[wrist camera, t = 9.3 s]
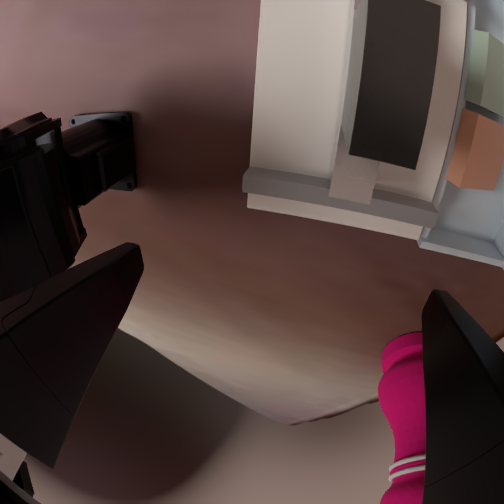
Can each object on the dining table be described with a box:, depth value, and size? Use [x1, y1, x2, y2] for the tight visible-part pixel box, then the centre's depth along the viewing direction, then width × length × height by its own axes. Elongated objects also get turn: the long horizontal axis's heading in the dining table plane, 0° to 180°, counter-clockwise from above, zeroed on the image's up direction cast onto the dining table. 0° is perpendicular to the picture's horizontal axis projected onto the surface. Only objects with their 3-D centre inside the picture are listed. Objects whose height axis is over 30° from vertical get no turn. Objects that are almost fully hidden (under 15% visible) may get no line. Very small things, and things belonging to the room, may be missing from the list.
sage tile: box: [464, 30, 504, 118], centre depth 11 cm, size 4×4×1 cm
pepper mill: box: [378, 332, 426, 504], centre depth 19 cm, size 7×7×20 cm
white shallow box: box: [242, 0, 471, 240], centre depth 13 cm, size 11×18×4 cm, turn 176°
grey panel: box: [329, 0, 441, 205], centre depth 9 cm, size 2×12×8 cm, turn 176°
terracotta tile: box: [446, 108, 504, 191], centre depth 14 cm, size 4×4×1 cm
